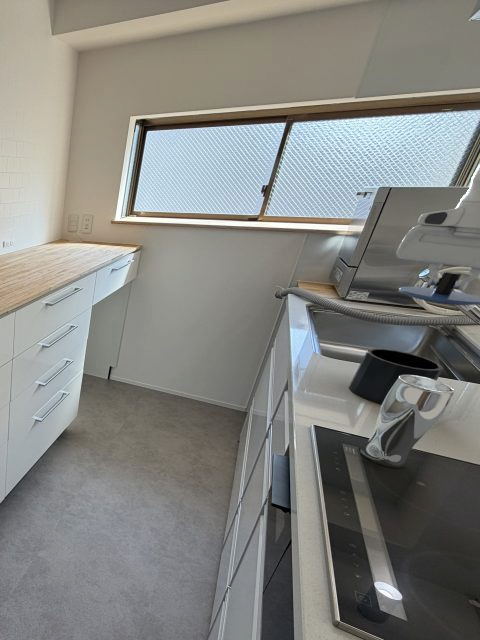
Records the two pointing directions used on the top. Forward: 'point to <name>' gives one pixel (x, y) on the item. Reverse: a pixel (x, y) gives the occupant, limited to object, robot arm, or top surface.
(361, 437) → the top surface
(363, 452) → the beer glass
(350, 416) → the top surface
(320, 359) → the top surface
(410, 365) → the pot
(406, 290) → the lid
